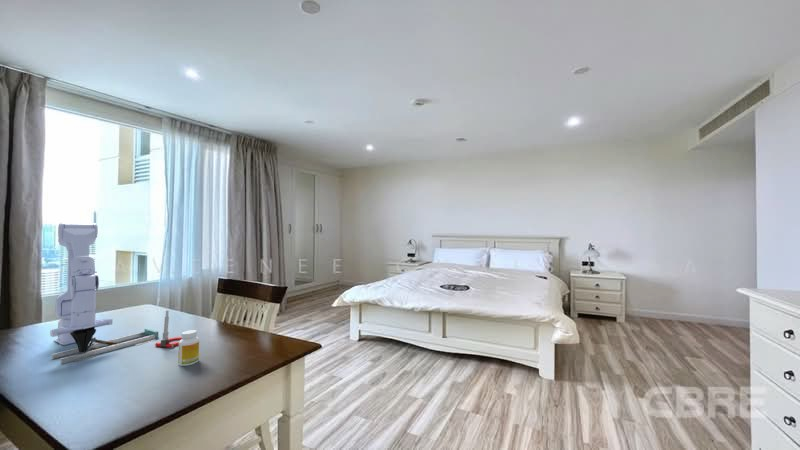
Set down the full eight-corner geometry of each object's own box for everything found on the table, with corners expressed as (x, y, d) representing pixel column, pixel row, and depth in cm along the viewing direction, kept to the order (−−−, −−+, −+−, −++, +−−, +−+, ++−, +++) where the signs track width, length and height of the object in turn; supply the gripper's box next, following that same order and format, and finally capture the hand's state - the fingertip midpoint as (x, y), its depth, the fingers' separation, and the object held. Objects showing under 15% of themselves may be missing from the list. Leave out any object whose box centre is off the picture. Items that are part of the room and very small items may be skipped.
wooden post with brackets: (82, 349, 104) (90, 336, 105) (111, 353, 109) (118, 340, 110) (81, 351, 103) (89, 337, 104) (111, 355, 107) (118, 342, 109)
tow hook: (175, 339, 119) (152, 347, 109) (177, 305, 119) (155, 310, 110) (194, 340, 117) (173, 349, 108) (196, 306, 118) (175, 311, 109)
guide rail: (51, 358, 99) (51, 350, 99) (147, 334, 122) (147, 328, 122) (63, 365, 94) (64, 357, 94) (160, 338, 118) (160, 332, 118)
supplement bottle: (202, 360, 99) (203, 330, 99) (186, 367, 94) (187, 335, 94) (190, 358, 101) (191, 328, 101) (174, 364, 96) (174, 333, 96)
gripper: (56, 318, 94) (55, 362, 94) (117, 307, 107) (116, 346, 107) (48, 314, 97) (47, 357, 97) (107, 305, 110) (106, 343, 110)
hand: (82, 351), depth 102 cm, fingers closed
